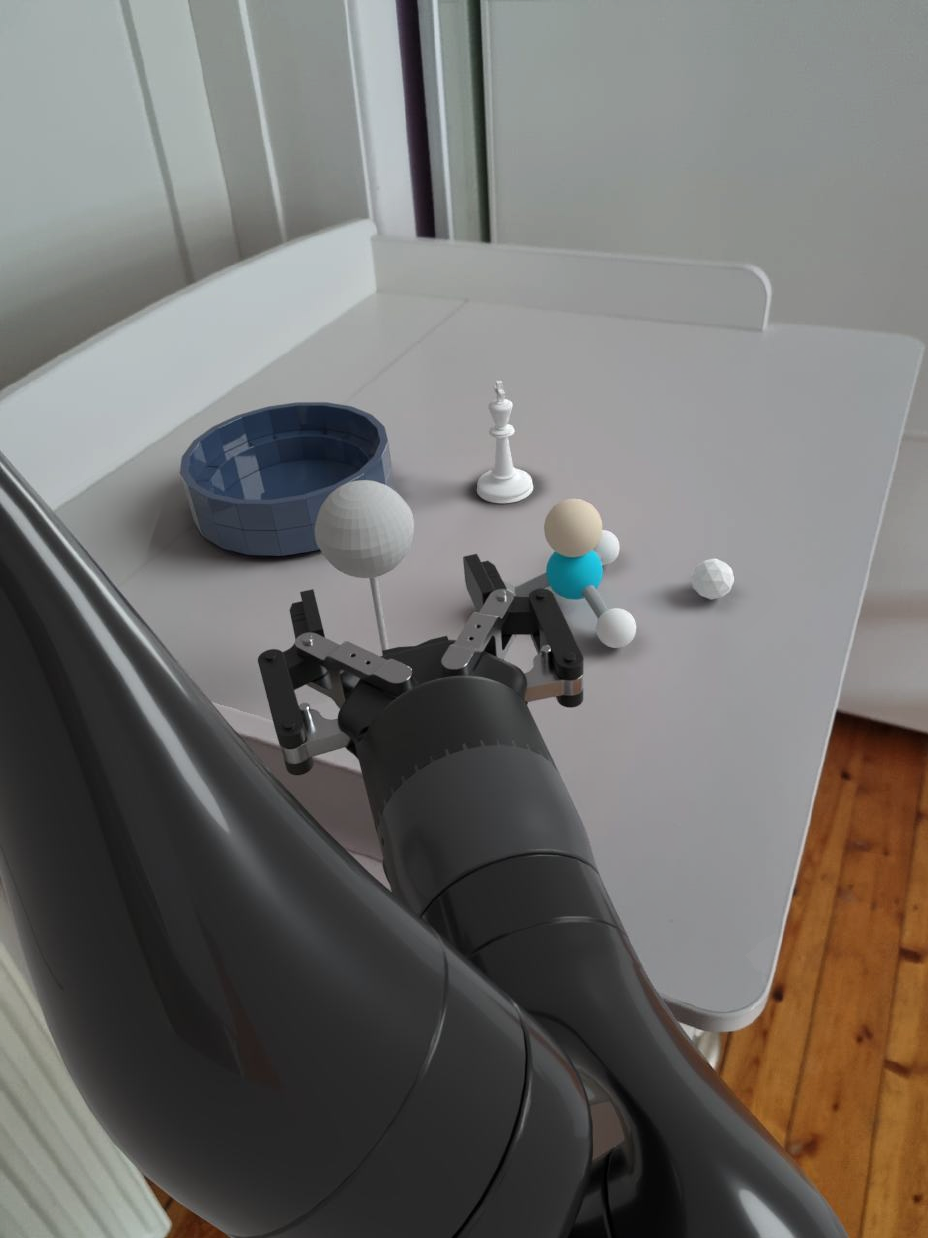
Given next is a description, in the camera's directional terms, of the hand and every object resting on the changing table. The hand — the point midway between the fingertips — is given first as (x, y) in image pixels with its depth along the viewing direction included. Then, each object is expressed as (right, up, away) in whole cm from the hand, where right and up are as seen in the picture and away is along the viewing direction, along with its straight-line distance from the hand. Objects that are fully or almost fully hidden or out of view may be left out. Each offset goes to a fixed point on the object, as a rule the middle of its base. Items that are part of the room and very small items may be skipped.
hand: (390, 586), depth 49 cm
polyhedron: (+22, 0, +20) cm, 30 cm away
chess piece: (+7, +9, +34) cm, 36 cm away
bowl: (-11, +8, +34) cm, 37 cm away
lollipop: (-1, -6, +16) cm, 17 cm away
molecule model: (+11, -1, +20) cm, 23 cm away
